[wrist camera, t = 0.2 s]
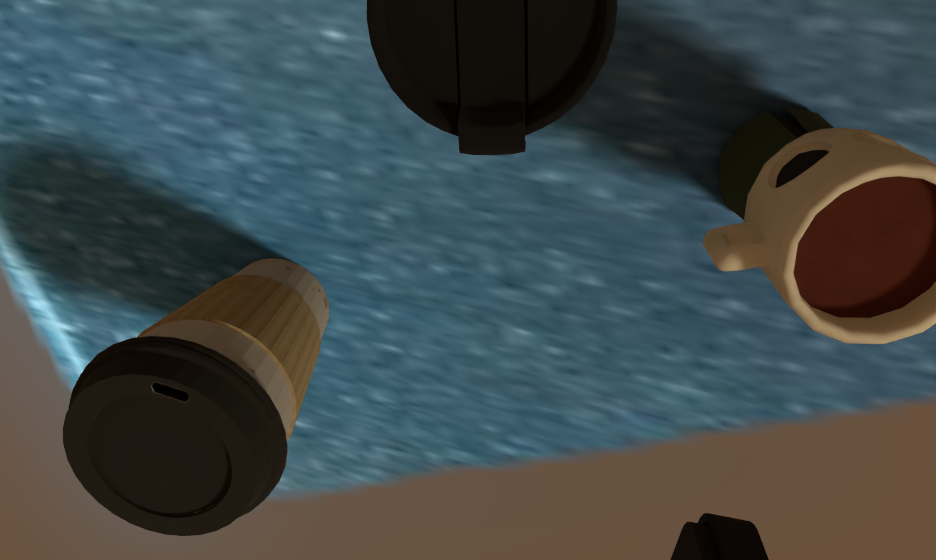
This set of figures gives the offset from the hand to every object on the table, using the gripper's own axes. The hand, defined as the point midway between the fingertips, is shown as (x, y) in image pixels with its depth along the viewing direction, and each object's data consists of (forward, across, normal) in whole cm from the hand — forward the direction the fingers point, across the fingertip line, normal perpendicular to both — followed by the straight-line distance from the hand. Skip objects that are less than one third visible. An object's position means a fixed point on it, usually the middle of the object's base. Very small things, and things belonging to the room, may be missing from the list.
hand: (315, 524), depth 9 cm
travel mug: (+31, 0, -6) cm, 32 cm away
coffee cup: (+31, +11, +14) cm, 36 cm away
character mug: (+31, -15, +1) cm, 35 cm away
